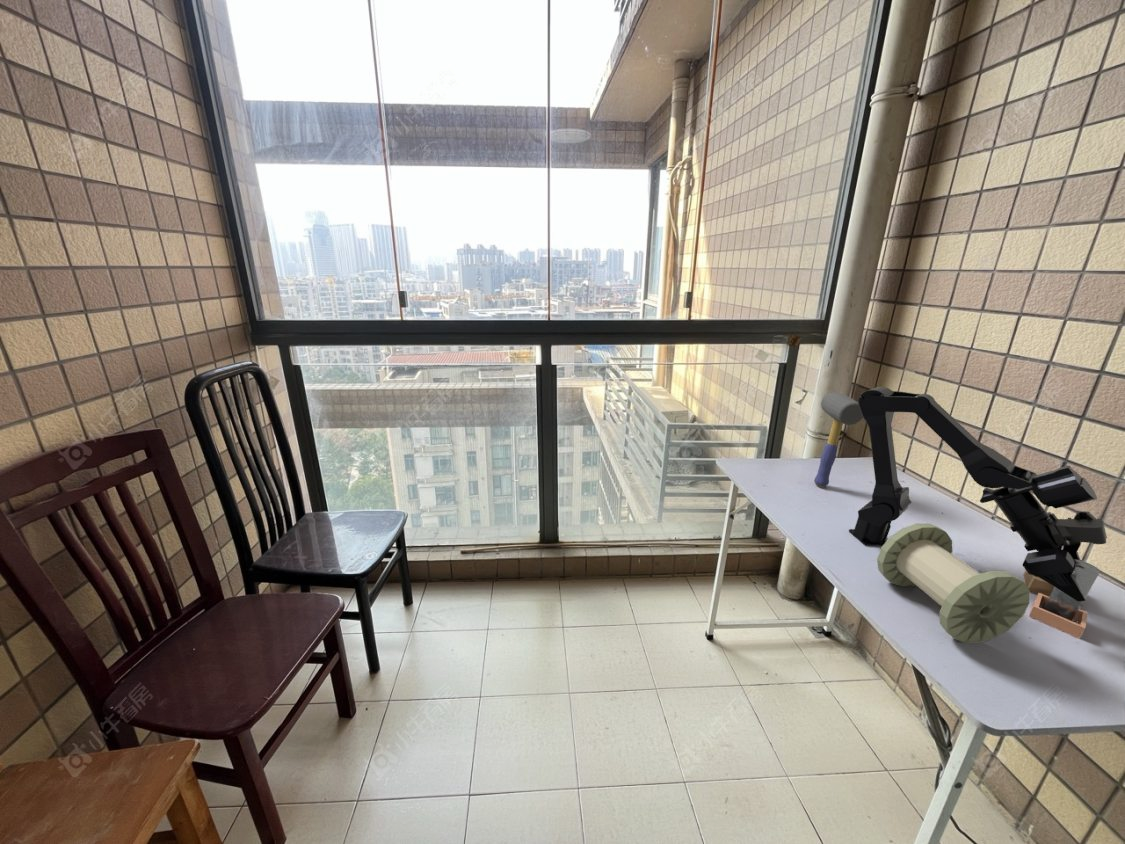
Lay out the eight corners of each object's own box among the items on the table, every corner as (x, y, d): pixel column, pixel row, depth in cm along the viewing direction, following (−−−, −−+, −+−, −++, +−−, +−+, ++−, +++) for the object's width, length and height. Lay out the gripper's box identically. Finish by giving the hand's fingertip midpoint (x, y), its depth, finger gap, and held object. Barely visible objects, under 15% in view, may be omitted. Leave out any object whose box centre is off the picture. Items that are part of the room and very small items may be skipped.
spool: (869, 581, 95) (889, 523, 89) (932, 580, 96) (955, 523, 91) (935, 643, 79) (964, 577, 74) (1009, 641, 80) (1043, 576, 75)
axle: (1049, 623, 85) (1079, 570, 80) (1035, 609, 88) (1062, 557, 84) (1075, 629, 84) (1106, 574, 79) (1059, 614, 87) (1089, 561, 83)
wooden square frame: (1027, 591, 93) (1034, 578, 92) (1022, 574, 99) (1029, 562, 98) (1077, 608, 89) (1085, 595, 88) (1070, 590, 94) (1077, 577, 93)
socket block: (1028, 616, 86) (1033, 606, 86) (1033, 602, 90) (1038, 592, 90) (1079, 638, 81) (1085, 628, 81) (1082, 622, 85) (1087, 612, 85)
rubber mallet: (842, 496, 131) (870, 402, 120) (816, 494, 131) (842, 401, 121) (823, 478, 142) (847, 391, 132) (799, 476, 143) (821, 389, 133)
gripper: (1077, 518, 75) (1147, 606, 71) (1085, 488, 86) (1146, 563, 82) (998, 534, 83) (1056, 614, 79) (1014, 506, 94) (1066, 574, 90)
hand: (1083, 590), depth 82 cm, fingers open, 9 cm apart
